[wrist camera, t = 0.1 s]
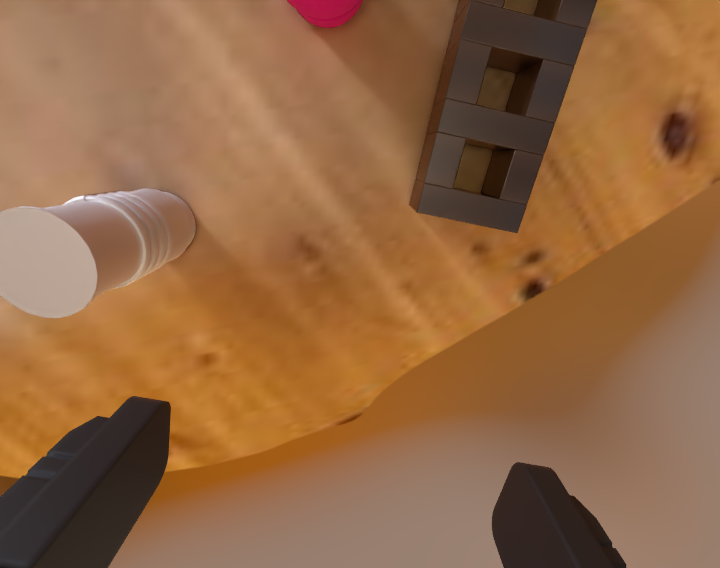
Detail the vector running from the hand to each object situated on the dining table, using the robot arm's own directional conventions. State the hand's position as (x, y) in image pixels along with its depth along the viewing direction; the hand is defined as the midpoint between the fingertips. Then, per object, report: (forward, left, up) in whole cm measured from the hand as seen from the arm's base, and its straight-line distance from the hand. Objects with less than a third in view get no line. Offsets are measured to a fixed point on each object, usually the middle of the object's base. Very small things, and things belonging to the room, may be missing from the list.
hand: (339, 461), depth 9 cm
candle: (+3, -18, -29) cm, 35 cm away
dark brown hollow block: (-14, +9, -29) cm, 34 cm away
